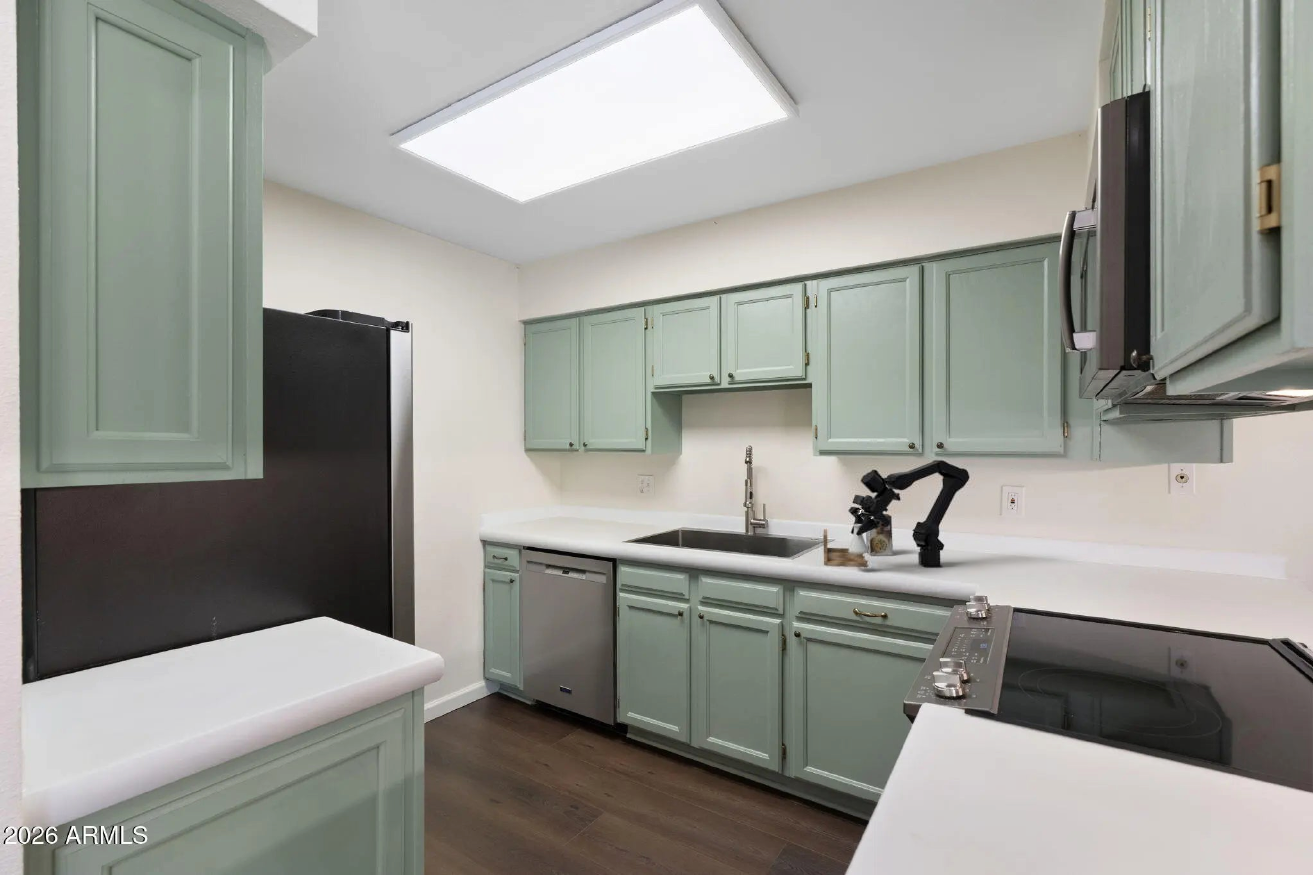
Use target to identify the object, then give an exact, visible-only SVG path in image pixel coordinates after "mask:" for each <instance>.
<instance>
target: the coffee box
mask: <svg viewBox="0 0 1313 875" xmlns="http://www.w3.org/2000/svg"><path fill="white" fill-rule="evenodd" d="M884 514H885V515H886V516H887V517H888V518H889V519H890V525H889V526H888V527H887V528H886V527H882V522H880V523H879V525H878V526H879V528H875V529H873V530H870V531H868V532H866V533H865V539H866V540H865V544H866V546H867V549H868V552H869V553H866V554H867V555H869V557H873V556H874V557H875V556H879V557H880V556H881V557H882V556H883V557H884V556H887V557H888V556H894V554H893V553H894V550H893V548H894V547H893V546H894V545H893V526H892V525H893V524H892V522H893V521H892V515H890V514H889V513H884Z"/></svg>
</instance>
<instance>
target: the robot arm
mask: <svg viewBox="0 0 1313 875" xmlns="http://www.w3.org/2000/svg"><path fill="white" fill-rule="evenodd" d="M934 474H938V475H939V476H941V477H942V479H941V481H942V487H941V490H940V491H939V493H938V496H937V497H936V498H935V501H934V503H933V504H932V507H931V509H930V511H929V512H928V514H927V516H926V518H925V520H924V521H917V523H916V525H915V526H914V528H913V529H912V531H913V532H912V535H911V536H912V540H913V541H914V542H915V546H916V547H917V548H919V551H918V554H917V556H918V559H917V560H918V564H919V565H920V566H922V567H924V568H943V565H942V564H941V551H944V547H945V544H944V543H943V542H942V541H941V540H940V539H939V536H940V524H941V523H942V520H943V519H944V517H945V515H946V513H947V511H948V510H949V507H950V505H951V503H952V501H953V499H954V498H955V495H956V494H957V493H958V492H960V490H962V488H964V487H965V486H966V485H967V483H968V481H969V480H970V474H969V472H968V470H967V469H966V468H963V467H959V466H956V465H954V464H951V463H948V462H947V461H945V460H943V459H935V460H932V461H931V462H929V463H925V464H923V465H921V466H918V467H914V468H913V469H910V470H908V471H901V472H900V471H899V472H894V473H890V474H888V475H887V476H886V477H883V476H882V475H881V474H880V473H879V471H878V470H877V469H872V470H870V471H868V472H867V473H866V474H864V475H863V476H862V477H861V479H860V483H861V484H862V485H863V486H864V487H865V488H866V489H867V490H868V491H869V492H870V493H871V494H875V495H874V496H872V495H868V494H866V495H865V496H863V495H859V494H854V497H853V500H852V504H855V505H857V506H851V507H850V508H849V509H848V510H847V511H848V513H850V515H851V516H852V517H853V518H854V523H853V524H862V525H861V526H860V528H859V529H858V531H857V533H856V535H857V536H859V535H861V534H862V535H864V534H866V532H868V531H870V530H873V529H875V528H879V526H878V525H879V523H880V522H882V527H886V528H887V527H888V526H889V525H890V519H889V518H888V517H887V516H886V515H885V514H886V513H887V512H888V511H889V509H888V508H889V506H890V504H891V503H892V502H893V501H898V502H901V496H900V494H901V493H899V492H895V490H897V491H905V490H907V489H908V488H910V487H911V486H912V485H913V484H914V483H915V482H917V481H920V480H922V479H925V478H927V477H930V476H933V475H934ZM859 506H860V507H859ZM884 512H885V513H884ZM850 534H852V535H853V534H854V526H853V525H852V528H851V531H850Z"/></svg>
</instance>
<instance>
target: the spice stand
mask: <svg viewBox="0 0 1313 875" xmlns="http://www.w3.org/2000/svg"><path fill="white" fill-rule="evenodd" d="M822 534H823V535H822V537H823V566H824V565H831V566H830V567H847V568H848V567H852V568H854V567H855V568H867V561H866V557H865V555H864V554H855V553H849V552H848V550H849V547H847V548H845V547H828V529H823V533H822Z"/></svg>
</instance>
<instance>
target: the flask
mask: <svg viewBox="0 0 1313 875" xmlns="http://www.w3.org/2000/svg"><path fill="white" fill-rule="evenodd" d="M861 525H862V524H854V523H853V524H852V527H853V526H854V534H852V538H851V542H850V544H849V547H848V548H849V550H848V552H849V553H855V554H863V555H864V554H867V553H869V552H868V549H867V546H866V540H865V539H864V536H863V535H864V534H861V535H859V536H857V535H856V533H857V531H858V529H859V528H860V526H861Z"/></svg>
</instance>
